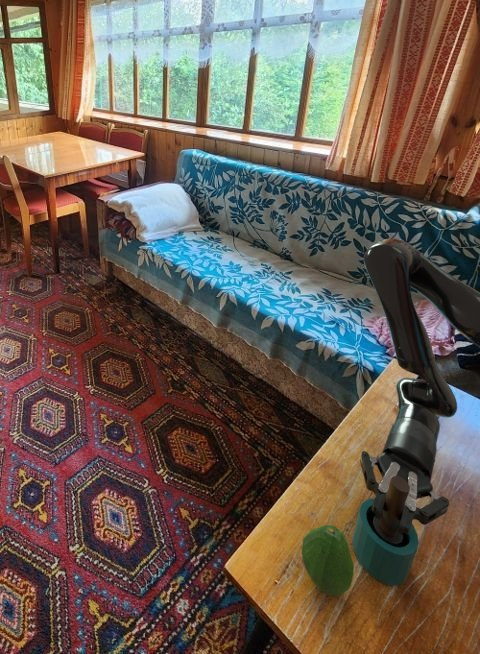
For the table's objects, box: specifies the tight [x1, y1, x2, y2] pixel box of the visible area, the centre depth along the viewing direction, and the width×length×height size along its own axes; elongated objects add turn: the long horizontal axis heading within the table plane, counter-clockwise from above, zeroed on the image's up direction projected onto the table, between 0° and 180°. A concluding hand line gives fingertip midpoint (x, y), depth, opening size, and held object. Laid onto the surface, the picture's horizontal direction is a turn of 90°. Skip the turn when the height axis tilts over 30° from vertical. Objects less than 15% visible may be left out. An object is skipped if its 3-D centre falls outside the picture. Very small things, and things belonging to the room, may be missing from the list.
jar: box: [352, 497, 420, 587], centre depth 67 cm, size 9×9×9 cm
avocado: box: [301, 524, 355, 597], centre depth 64 cm, size 8×8×12 cm
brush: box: [371, 476, 410, 548], centre depth 64 cm, size 4×4×16 cm
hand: (389, 522), depth 62 cm, fingers closed on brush, 2 cm apart
